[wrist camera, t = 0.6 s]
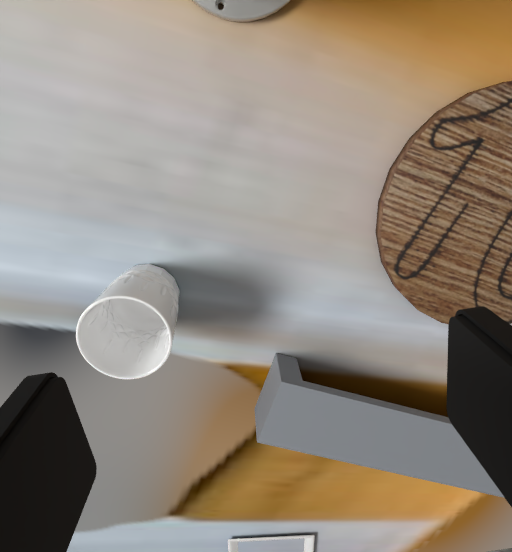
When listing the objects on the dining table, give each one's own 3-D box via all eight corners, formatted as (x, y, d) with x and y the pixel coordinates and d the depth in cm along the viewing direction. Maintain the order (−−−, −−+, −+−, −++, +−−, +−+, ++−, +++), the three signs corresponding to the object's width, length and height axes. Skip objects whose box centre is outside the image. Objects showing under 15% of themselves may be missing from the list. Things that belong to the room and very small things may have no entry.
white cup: (195, 272, 43) (183, 313, 33) (173, 335, 45) (156, 389, 36) (120, 247, 42) (87, 283, 32) (102, 313, 44) (66, 364, 35)
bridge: (276, 352, 47) (281, 381, 41) (521, 416, 52) (554, 449, 46) (254, 408, 49) (257, 442, 44) (490, 464, 54) (518, 500, 49)
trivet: (335, 279, 44) (339, 285, 42) (452, 35, 37) (464, 30, 35) (523, 347, 49) (534, 356, 47) (663, 141, 41) (683, 142, 39)
